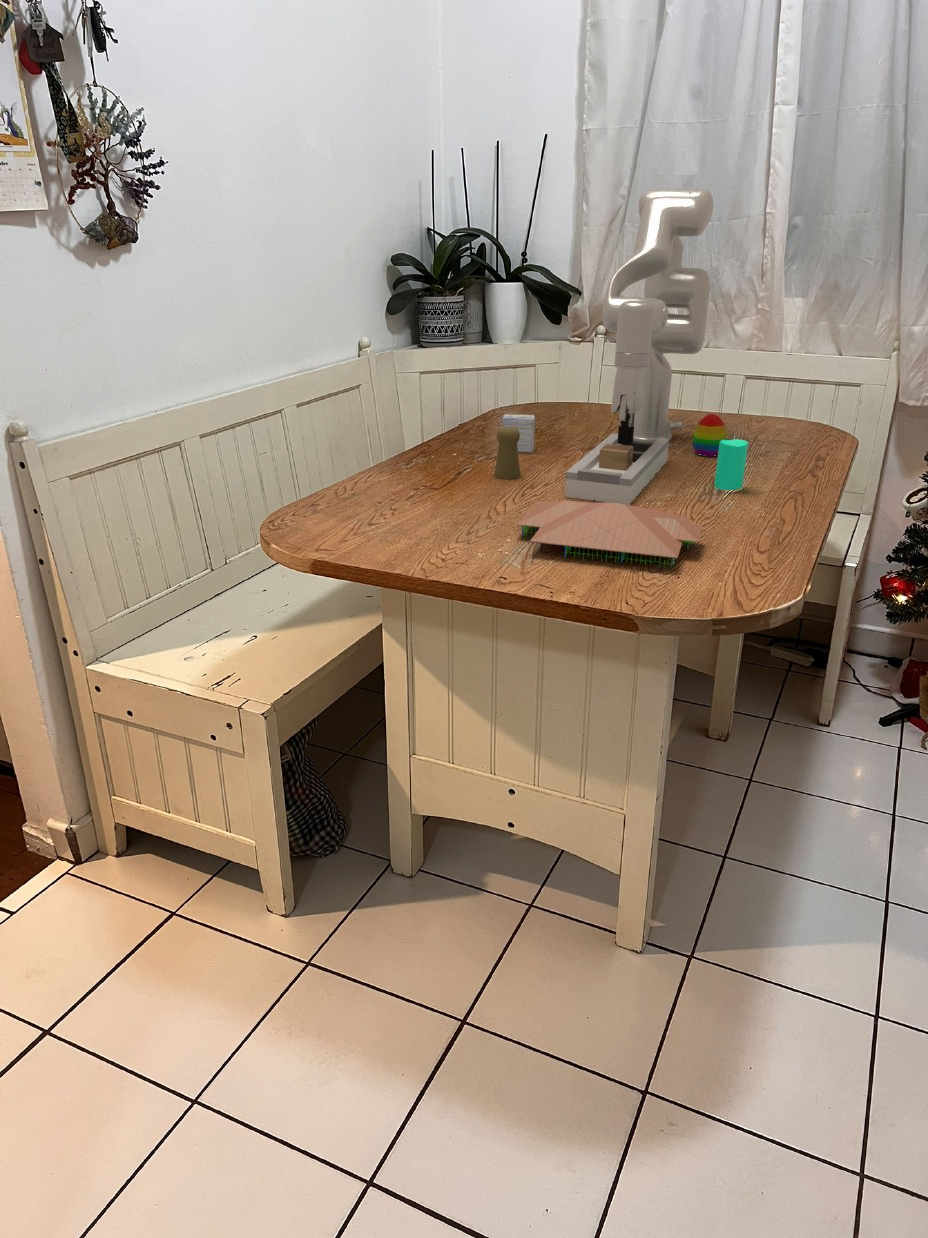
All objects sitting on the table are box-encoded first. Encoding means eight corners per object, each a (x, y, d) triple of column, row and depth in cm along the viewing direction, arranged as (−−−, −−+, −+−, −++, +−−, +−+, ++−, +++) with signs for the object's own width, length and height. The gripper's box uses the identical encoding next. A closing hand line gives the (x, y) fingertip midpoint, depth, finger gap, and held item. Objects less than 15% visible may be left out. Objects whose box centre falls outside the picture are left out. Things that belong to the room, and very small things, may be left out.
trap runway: (610, 455, 229) (612, 431, 226) (667, 461, 224) (669, 436, 221) (564, 496, 197) (566, 469, 194) (629, 505, 192) (631, 476, 189)
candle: (744, 487, 204) (751, 433, 199) (739, 494, 199) (746, 439, 194) (716, 483, 207) (723, 430, 202) (711, 490, 202) (718, 436, 197)
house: (692, 577, 157) (697, 531, 153) (504, 555, 166) (506, 512, 163) (703, 534, 177) (708, 493, 173) (535, 517, 186) (536, 477, 182)
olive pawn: (523, 473, 213) (525, 425, 209) (516, 480, 208) (517, 431, 204) (498, 470, 215) (499, 423, 211) (490, 477, 210) (491, 429, 205)
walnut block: (605, 460, 209) (607, 443, 207) (632, 463, 206) (633, 446, 205) (598, 467, 203) (599, 449, 202) (625, 470, 201) (626, 452, 200)
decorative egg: (713, 449, 235) (717, 409, 231) (731, 457, 228) (736, 416, 224) (684, 451, 233) (689, 411, 229) (702, 459, 226) (707, 418, 222)
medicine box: (533, 448, 234) (535, 414, 231) (533, 453, 230) (534, 418, 227) (502, 447, 235) (503, 413, 231) (501, 452, 231) (502, 417, 227)
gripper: (623, 355, 210) (617, 435, 217) (606, 363, 198) (600, 448, 205) (656, 357, 208) (648, 438, 215) (641, 366, 195) (633, 452, 202)
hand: (625, 443), depth 210 cm, fingers closed
